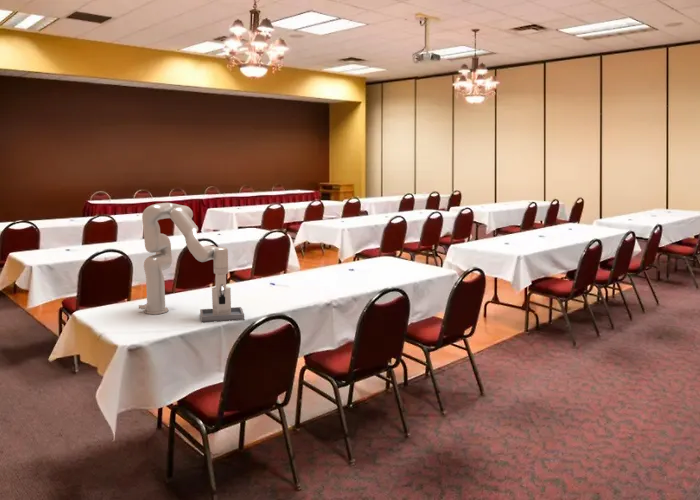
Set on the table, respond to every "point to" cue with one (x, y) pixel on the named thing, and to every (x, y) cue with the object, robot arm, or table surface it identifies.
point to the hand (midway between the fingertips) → (221, 301)
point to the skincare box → (221, 308)
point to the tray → (208, 315)
